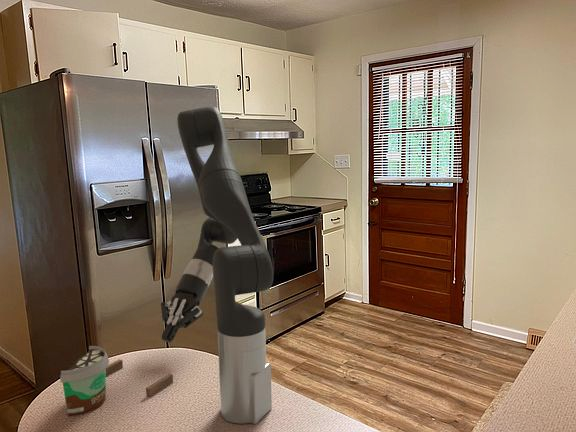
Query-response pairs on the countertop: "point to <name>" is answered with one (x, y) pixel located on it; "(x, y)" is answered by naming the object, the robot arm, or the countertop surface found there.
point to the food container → (86, 382)
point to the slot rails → (150, 389)
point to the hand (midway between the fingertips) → (165, 340)
